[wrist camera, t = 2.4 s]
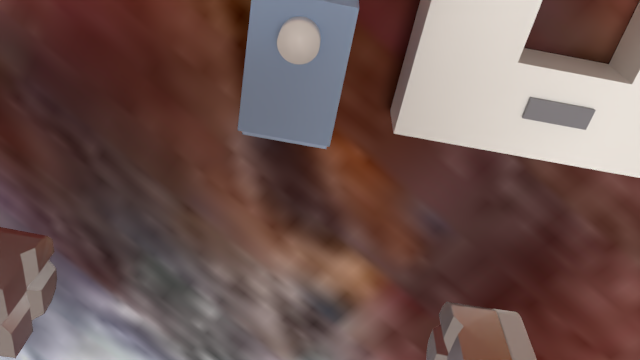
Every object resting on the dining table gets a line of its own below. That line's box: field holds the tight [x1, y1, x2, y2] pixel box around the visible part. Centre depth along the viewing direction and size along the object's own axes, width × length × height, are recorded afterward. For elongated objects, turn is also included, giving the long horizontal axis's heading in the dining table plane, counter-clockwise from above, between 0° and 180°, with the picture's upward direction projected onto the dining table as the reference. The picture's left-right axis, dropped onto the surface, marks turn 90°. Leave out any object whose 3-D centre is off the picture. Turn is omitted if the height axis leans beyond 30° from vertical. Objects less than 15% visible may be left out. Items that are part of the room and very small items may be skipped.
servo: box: [238, 0, 359, 149], centre depth 23 cm, size 8×4×6 cm, turn 170°
